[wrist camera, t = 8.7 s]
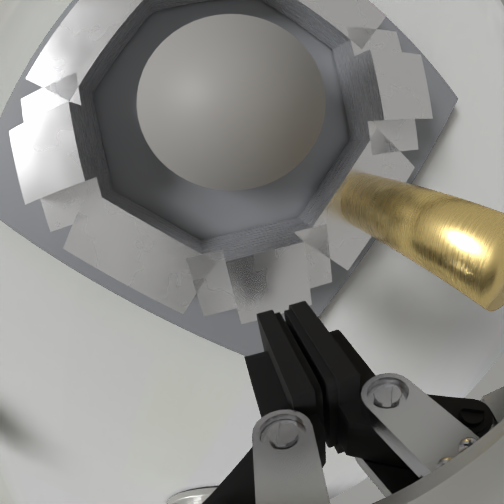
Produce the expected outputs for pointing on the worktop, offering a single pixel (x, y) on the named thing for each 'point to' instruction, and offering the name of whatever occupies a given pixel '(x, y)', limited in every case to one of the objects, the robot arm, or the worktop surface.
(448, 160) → the worktop surface
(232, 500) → the robot arm
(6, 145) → the base plate
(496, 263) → the ring nut
